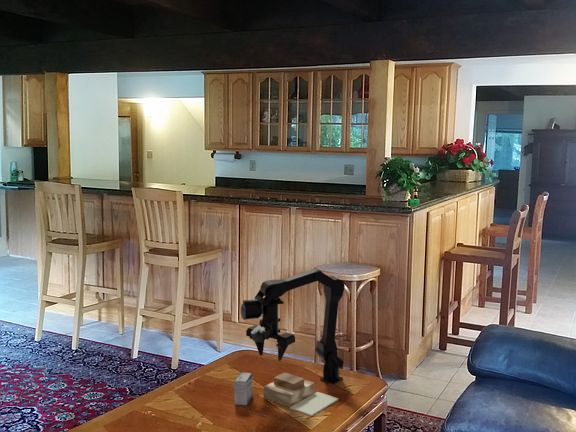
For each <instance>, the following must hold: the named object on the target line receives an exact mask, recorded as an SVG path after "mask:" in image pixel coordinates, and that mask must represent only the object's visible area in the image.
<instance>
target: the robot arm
mask: <svg viewBox="0 0 576 432" xmlns="http://www.w3.org/2000/svg"><path fill="white" fill-rule="evenodd" d="M315 282H316V283H317V282H318V283H320V284H321V285H322V286H323V294H324V297H325V308H324V317H323V325H322V326H323V328H322V336H321V339H319V340H316V344H315V345H316V347H315V349H314V351H315V352H316V355H317V357H319V359H320V360H321V362H323V363H324V364H323V371H322V372H323V373H322V375H323V376H322V377H320V379H319V380H320V381H322V382H326V383H328V384H333V385H335V384H336V383H339V382H341V381H342V380H343V379H344V377H342V376H340V374H341V373H340V368H343V365H344V361H343V360H342V359H341V358H340V357H339V356H338V346H337V343H336V330H337V320H338V310H339V302H340V300H341V299H342V297H343V295H344V291H345V288H346V287H345V282H344V281H343V280H341V279H340V278H337V277H336V276H334V275H327V274H325V273H324V272H322V271H321V270H319V269H318V268H312V269H310V270H307V271H305V272H301V273H299V274H296V275H292V276H290V277H287V278H282V279H269V280H268V279H267V280H264V281H263V282H262V283H261V285H260V288H259V290H258V292H257V294H256V295H255V296H254V299H242V304H241V307H240V315H241V318H242V320H253V319H259V318H261V319H259V324H258V325H256V324H255V325H252V326H249V327H247V329H246V330H245V336H246V337H249V340H252V341H253V342H254V344H255V345H256V348H257V351H258V354H259V356H260V357H261V356H263V354H264V347H265V340H269V339H273V340H276V344H275V346H276V347H277V358H278V359H277V360H278V362H281V361H282V360H283V357H284V355H285V353H286V351H287V349H288V347H289V346H290V345H291V344H294V343H296V336H295V334H293V333H288V332H285V333H282V334H279V333H281V329H280V328H279V322H281V317H279V305H283V304H285V303H284V301H283V300H282V299H281V297H283V296H284V295H285V294H286V293H287V292H289V291H292V290H294V289H297V288H298V289H299V288H300V287H301V288H302V287H304V286H306V285H307V286H308V285H309V284H312V283H315Z"/></svg>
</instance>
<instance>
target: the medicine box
mask: <svg viewBox="0 0 576 432" xmlns="http://www.w3.org/2000/svg"><path fill="white" fill-rule="evenodd" d="M233 383H234V386H233V387H234V405H237V406H238V405H241V406H247V405H248V404H249V402H250V401H251V400H252V398H253V373H251V372H240V373H239V375H238V376H237V378H236V379H235V380H234V382H233Z"/></svg>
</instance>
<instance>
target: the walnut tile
mask: <svg viewBox="0 0 576 432" xmlns="http://www.w3.org/2000/svg"><path fill="white" fill-rule="evenodd" d="M304 380H305V378H303V377H300V376H298V375H293V374H291V373H288V372H285V371H284V372H282V373H280V374H278V375H277V376H275V377H273V382H274V384H275V385H278V386H281V387H284V388H287V389H290V390H293V391H295V390H297V389H298V388H300V387H302V386H304Z"/></svg>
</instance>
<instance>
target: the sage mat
mask: <svg viewBox="0 0 576 432" xmlns="http://www.w3.org/2000/svg"><path fill="white" fill-rule="evenodd" d="M338 401H339V398H338V397H335V396H332V395H329V394H325V393H324V392H319V391H316V392H314V394H312V395H310V396H309V397H307V398H305V399H303V400H302V401H300V402H298V403H296V404H295V405H293V406H291V407H289V408H290V410H293V411H296V412H298V413H301V414H304V415H307V416H310V417H313V416H315V415H316V414H318V413H319V412H321V411H323V410H325V409H326V408H328V407H329V406H331V405H333V404H334V403H336V402H338Z"/></svg>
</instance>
